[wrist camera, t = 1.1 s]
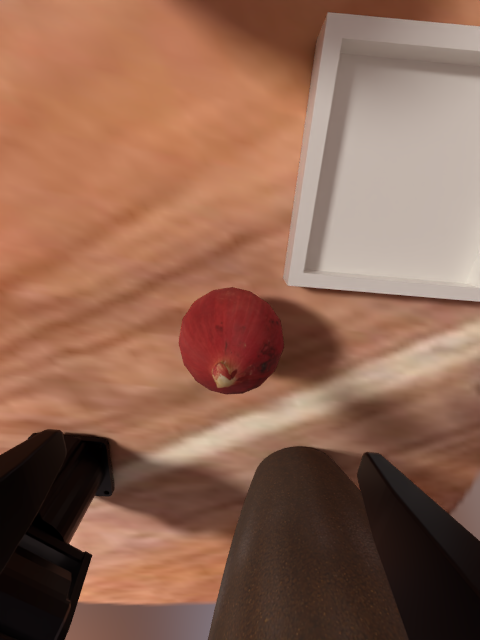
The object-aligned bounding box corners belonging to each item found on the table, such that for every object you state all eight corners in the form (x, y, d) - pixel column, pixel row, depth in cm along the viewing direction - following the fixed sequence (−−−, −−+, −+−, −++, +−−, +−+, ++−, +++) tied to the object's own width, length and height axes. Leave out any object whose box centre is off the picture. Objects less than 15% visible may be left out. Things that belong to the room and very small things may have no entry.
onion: (286, 287, 18) (315, 339, 11) (263, 361, 20) (273, 447, 13) (200, 266, 18) (168, 304, 10) (185, 343, 20) (150, 421, 12)
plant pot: (402, 413, 22) (740, 847, 7) (364, 535, 27) (507, 924, 12) (214, 405, 22) (147, 816, 7) (214, 528, 27) (175, 905, 12)
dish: (464, 293, 18) (489, 302, 16) (283, 277, 18) (287, 285, 16) (555, 61, 14) (603, 38, 12) (316, 39, 14) (327, 12, 12)
